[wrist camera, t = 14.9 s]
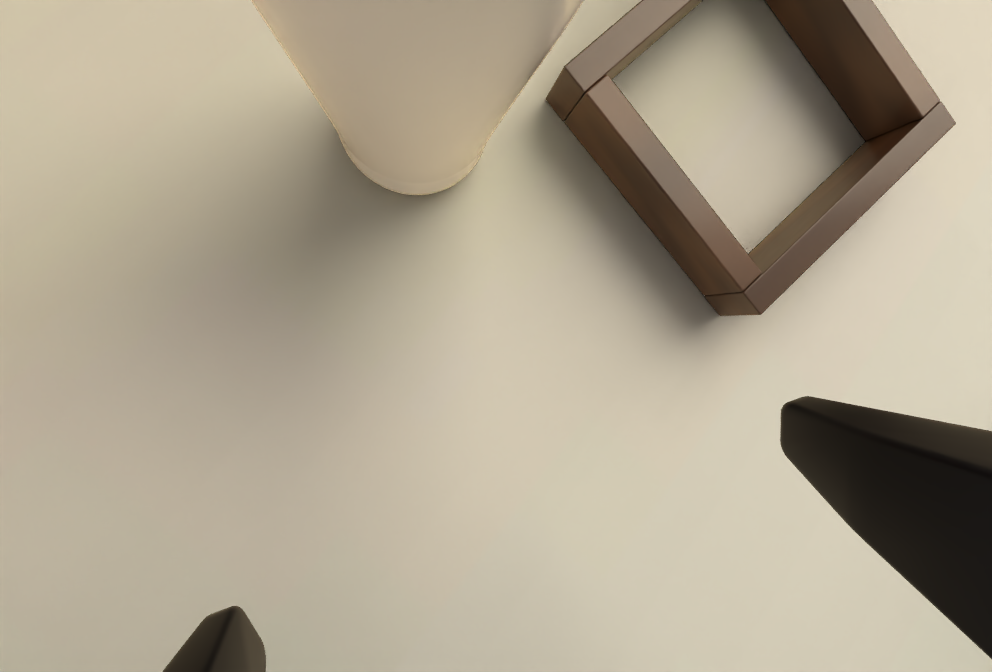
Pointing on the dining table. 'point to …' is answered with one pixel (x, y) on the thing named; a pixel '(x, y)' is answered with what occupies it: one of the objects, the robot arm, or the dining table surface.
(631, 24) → the holder
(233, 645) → the robot arm
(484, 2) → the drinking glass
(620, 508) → the dining table surface
